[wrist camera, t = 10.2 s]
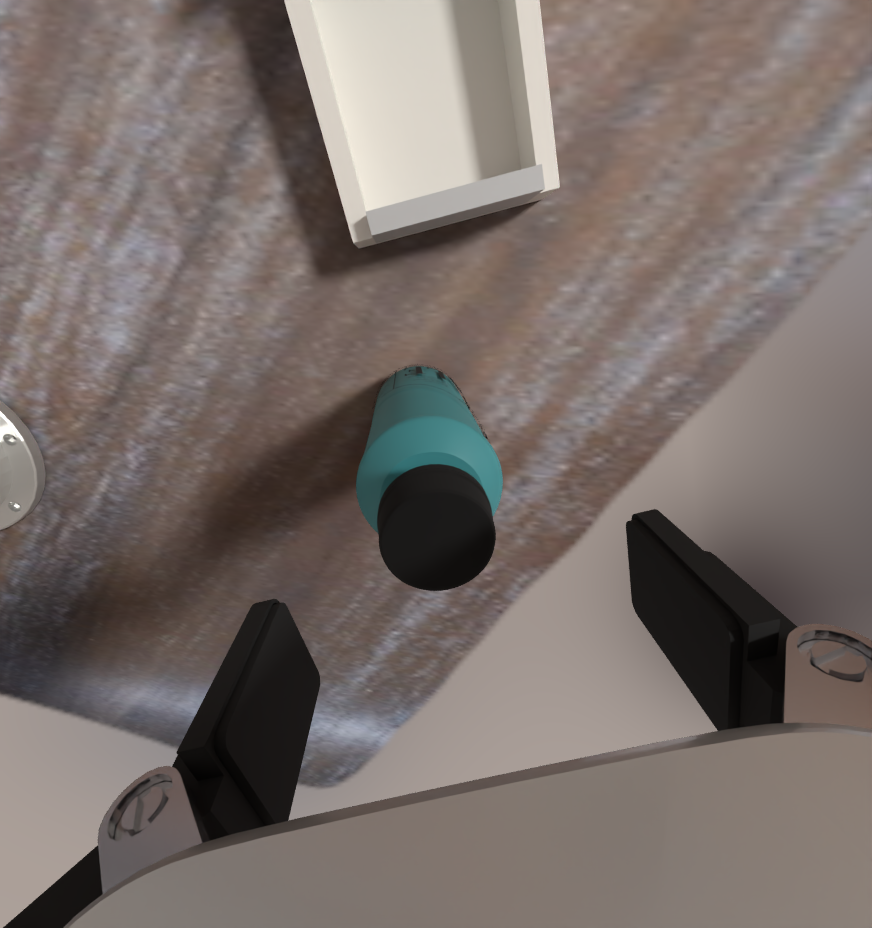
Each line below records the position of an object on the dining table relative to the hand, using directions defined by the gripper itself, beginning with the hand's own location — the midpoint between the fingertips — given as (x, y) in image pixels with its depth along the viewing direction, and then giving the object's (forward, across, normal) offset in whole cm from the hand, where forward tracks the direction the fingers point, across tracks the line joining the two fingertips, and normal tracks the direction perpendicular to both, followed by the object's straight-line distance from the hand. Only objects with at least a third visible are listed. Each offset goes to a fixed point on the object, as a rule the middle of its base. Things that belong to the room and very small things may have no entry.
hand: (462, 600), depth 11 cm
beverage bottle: (+23, +1, 0) cm, 23 cm away
